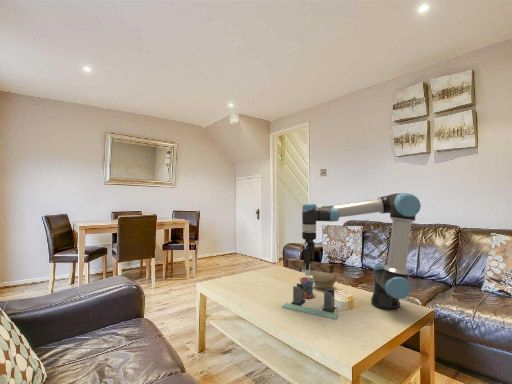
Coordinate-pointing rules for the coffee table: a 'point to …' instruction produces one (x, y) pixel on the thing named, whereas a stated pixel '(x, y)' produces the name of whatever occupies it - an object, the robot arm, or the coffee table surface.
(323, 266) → the rail
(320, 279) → the decorative ball
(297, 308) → the mat
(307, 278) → the mug
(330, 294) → the post
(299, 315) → the coffee table surface
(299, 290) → the post
